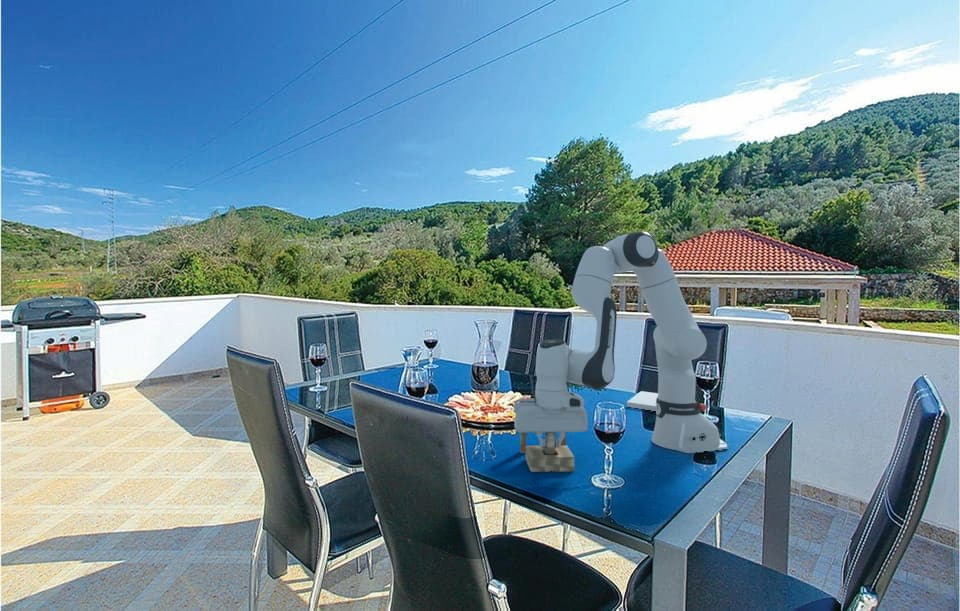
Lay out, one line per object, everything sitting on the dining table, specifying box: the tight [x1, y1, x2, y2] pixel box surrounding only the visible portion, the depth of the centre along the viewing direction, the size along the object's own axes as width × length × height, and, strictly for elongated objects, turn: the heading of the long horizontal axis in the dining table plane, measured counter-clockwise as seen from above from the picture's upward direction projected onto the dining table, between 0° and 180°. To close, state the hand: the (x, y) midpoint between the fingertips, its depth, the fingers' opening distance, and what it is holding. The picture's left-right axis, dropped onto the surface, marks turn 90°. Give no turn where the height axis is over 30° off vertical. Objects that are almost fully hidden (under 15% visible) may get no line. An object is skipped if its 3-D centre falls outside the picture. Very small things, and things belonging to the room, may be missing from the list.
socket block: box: [525, 445, 575, 473], centre depth 138 cm, size 12×9×4 cm
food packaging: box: [626, 390, 658, 412], centre depth 203 cm, size 15×3×20 cm
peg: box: [544, 432, 557, 455], centre depth 136 cm, size 3×3×8 cm
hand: (550, 446), depth 136 cm, fingers closed on peg, 3 cm apart
